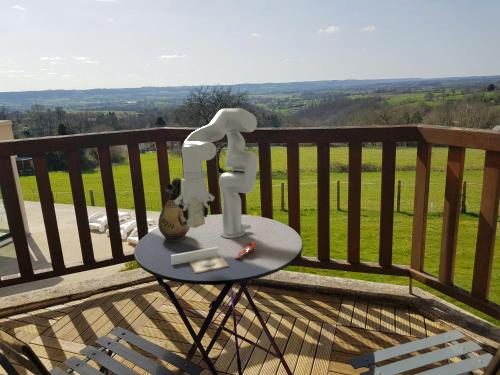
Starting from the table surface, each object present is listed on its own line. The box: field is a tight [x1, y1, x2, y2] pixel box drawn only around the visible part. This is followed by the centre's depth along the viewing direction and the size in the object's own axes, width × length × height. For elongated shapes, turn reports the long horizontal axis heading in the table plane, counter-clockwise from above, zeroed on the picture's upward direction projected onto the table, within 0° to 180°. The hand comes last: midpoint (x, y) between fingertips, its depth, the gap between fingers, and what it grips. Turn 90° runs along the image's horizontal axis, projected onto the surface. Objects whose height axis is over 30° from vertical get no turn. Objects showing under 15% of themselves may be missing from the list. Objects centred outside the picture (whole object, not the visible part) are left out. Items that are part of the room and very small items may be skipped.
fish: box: [235, 241, 258, 260], centre depth 160 cm, size 13×5×9 cm
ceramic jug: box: [157, 177, 191, 243], centre depth 177 cm, size 17×15×30 cm
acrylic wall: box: [170, 246, 219, 266], centre depth 155 cm, size 20×1×4 cm, turn 113°
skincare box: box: [186, 198, 206, 229], centre depth 148 cm, size 6×4×12 cm
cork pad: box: [188, 255, 230, 274], centre depth 150 cm, size 14×10×1 cm
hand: (195, 217), depth 149 cm, fingers closed on skincare box, 7 cm apart
